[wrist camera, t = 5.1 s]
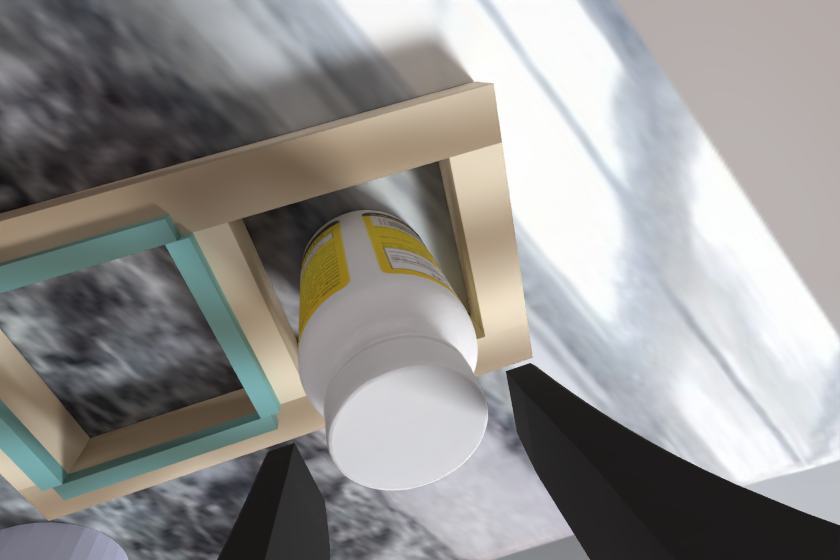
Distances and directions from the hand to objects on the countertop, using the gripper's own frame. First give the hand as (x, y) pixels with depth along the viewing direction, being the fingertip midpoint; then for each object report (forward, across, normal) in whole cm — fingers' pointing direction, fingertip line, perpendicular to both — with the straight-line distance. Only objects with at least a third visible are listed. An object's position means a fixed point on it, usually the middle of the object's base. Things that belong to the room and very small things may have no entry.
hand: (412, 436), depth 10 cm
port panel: (+10, +5, 0) cm, 11 cm away
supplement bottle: (+10, 0, 0) cm, 10 cm away
